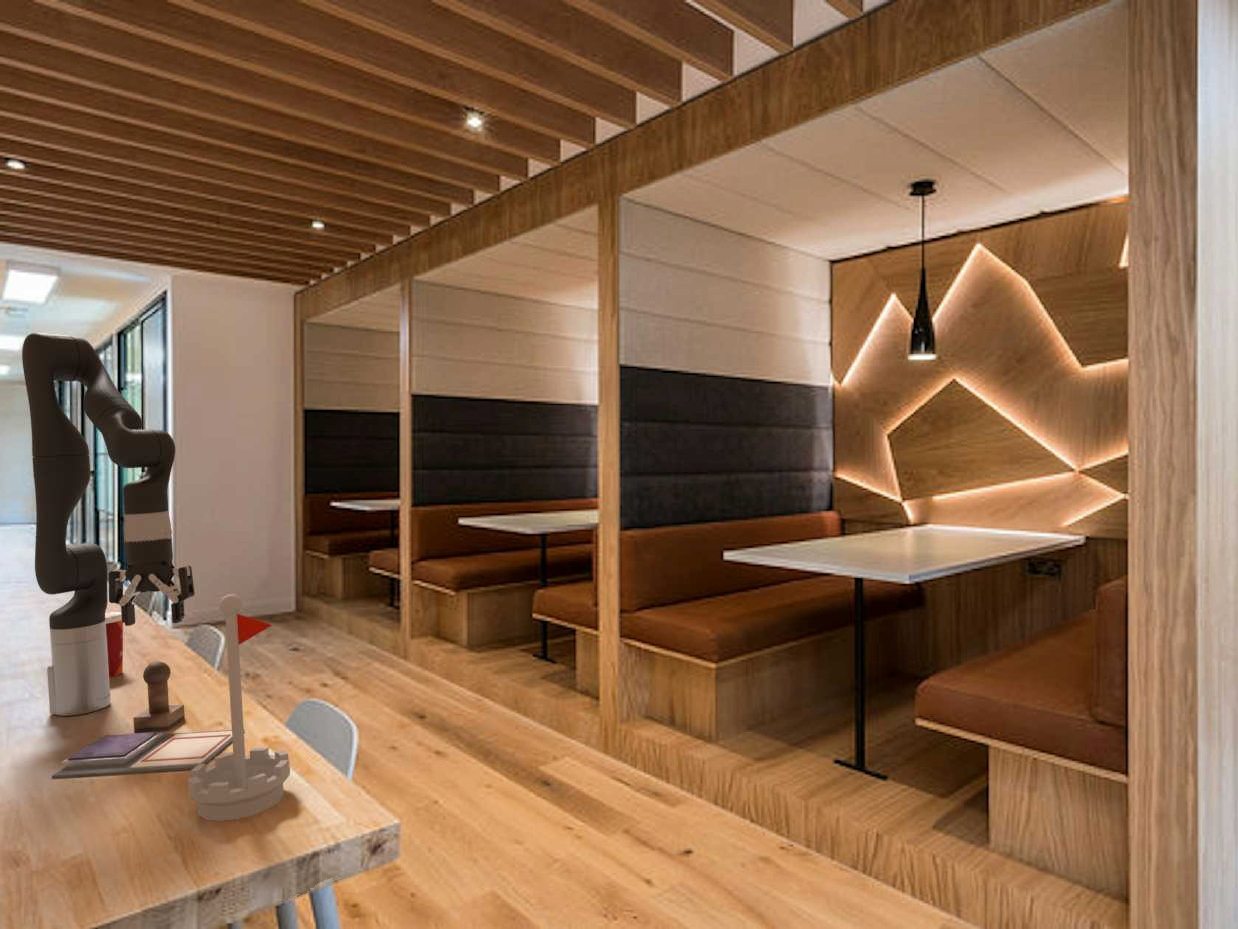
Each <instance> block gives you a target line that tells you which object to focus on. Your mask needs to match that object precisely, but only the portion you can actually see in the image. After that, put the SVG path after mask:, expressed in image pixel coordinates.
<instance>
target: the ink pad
mask: <svg viewBox="0 0 1238 929" xmlns="http://www.w3.org/2000/svg"><path fill="white" fill-rule="evenodd" d="M162 734H163V731H160V732H158V731H156V732H139V733H123V734H119V733H118V734H107V735H103V736H101V737H100V738H98V739H96V740H95V741H93V742H92V743H90V744H88V745H86V746H85V747H84V748H82V749H80V750H79V751H76V752H75V753H74V754H72V755H70V756H69V757H68V758H67V757H66V758H65V759H64V760H62V761H61V770H62V769H73V768H89V767H105V766H121V765H127V764H128V763H130V762H131V761H133V760H134V759H135V758H137V757H138V756H140V755H141V754H143V753H144V752H145V751H147V750H148V749H150V748H151V747H152V746H154V745H155V744H157V743H158V742H159V741H161V740H162V739H163V735H162Z"/></svg>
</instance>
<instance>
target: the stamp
mask: <svg viewBox="0 0 1238 929" xmlns="http://www.w3.org/2000/svg"><path fill="white" fill-rule="evenodd" d="M171 674H172V672H171V667H170V666H169V665H168V664H167V663H166V662H163V661H154V662H151V663H150V664H148V665H147V666H146V667H145V668H144V670H143V673H142V677H143V680H144V682H145V683H146V684H147V699H148V701H147V702H148V708H147V709H145V710H144V711H142V712H140V713H139V714H137V715H135V716H134V717H133V718H132V719H133V729H134V730H133V734H136V733H152V732H167V731H168V732H169V731H170V730H171V729H174V727H175V726H177V725H179V724H180V723H181V722H183V721H184V720H185V719H186V718H185V717H186V716H185V705H184V704H171V705H170V701H169V686H168V685H169V683H168V681H169V678H170V677H171Z"/></svg>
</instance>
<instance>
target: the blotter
mask: <svg viewBox="0 0 1238 929" xmlns="http://www.w3.org/2000/svg"><path fill="white" fill-rule="evenodd" d="M162 735H163V739H162V740H161V741H159V742H158V743H157V744H155V745H154V746H152V747H151V748H150V749H148V750H147V751H145V752H144V753H143V754H141V755H140V756H138V757H137V758H135V759H134V760H133V761H131V762H130V763H128V764H127V765H121V766H105V767H89V768H73V769H62V768H61V769H60V770H59V771H57V772H55V773H53V774H52V775H51V779H58V778H59V779H64V778H78V777H79V778H80V777H93V776H94V777H95V776H96V777H98V776H110V775H124V774H125V775H126V774H142V773H159V772H175V771H191V770H192V769H193V768H195V767H196V766H198V765H199V764H206V765H207V764H209V763H210V762H211V761H212V760H213V759H215V758H214V757H217V756H219V754H221V752H222V751H224V750H225V749H226V748H227V747H228V746H230V745H231V744H233V742H232V729H230V730H229V729H228V730H227V729H226V730H212V731H210V730H209V731H196V732H179V733H178V732H177V733H165V734H164V733H162Z"/></svg>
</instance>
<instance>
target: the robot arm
mask: <svg viewBox="0 0 1238 929" xmlns="http://www.w3.org/2000/svg"><path fill="white" fill-rule="evenodd" d="M21 362H22V368H23V370H22V371H23V376H24V381H25V387H26V393H27V395H26V396H27V399H28V400H27V401H28V407H29V415H30V425H31V426H30V428H31V457H32V473H33V474H32V475H33V481H34V482H33V483H34V492H35V494H34V495H35V510H36V511H35V512H36V516H35V517H36V520H35V521H36V525H35V526H36V528H35V547H34V550H35V551H34V572H35V578H36V582H37V584H38V587H39V589H40V590H41V591H42V592H43V593H45V594H47V595H59V594H64V593H70V592H74V593H73V596H72V598H70V600H69V601H68V602H66V603H65V604H63V605H62V606H60V607H59V608H56V610H54V611H53V612H51V613H50V614H49V619H48V620H49V621H48V622H49V636H50V637H49V638H50V649H51V651H50V652H51V665H48V666H47V668H46V673H47V674H46V675H47V687H48V704H49V715H57V716H61V717H66V716H79V715H83V714H88V713H89V714H90V713H91V712H92V713H93V712H96V711H99V710H102V709H105V708H106V707H108V706H109V705H110V704H111V689H110V688H111V687H110V677H109V668H108V652H107V636H106V621H105V613H107V612H106V611H107V609H108V608H107V607H108V602H109V603H110V604H116V605H118V606H120V611H121V615H122V622H123V624H124V626H125V627H130V626H133V625H134V624H136V610H135V603H133V602H135V600H136V598H137V597H138V596H139V594H141V593H147V592H152V593H157V592H161V593H162V594H163V595H165V596H167V597H168V599H169V600H170V601H171V602H172V603H171V604H170V608H171V623H172V624H179V623H181V622H182V621H183V619H185V618H184V617H185V601H186V600H187V599H189V598H193V597H194V596H195V593H196V592H195V585H194V579H193V578H194V577H193V569H192V566H191V565H184V566H180V567H179V566H178V567H175V565H174V564H173V560H174V552H173V536H172V534H173V530H172V523H171V522H172V521H171V519H170V514H169V500H168V489H169V482H170V478H171V473H172V469H173V465H174V463H175V462H174V461H175V456H176V444H175V442H174V439H173V437H172V436H171V435H170V433H168V432H167V431H166V430H163V429H142V428H143V419H142V417H141V415H140V414H139V413H138V412H137V410H135V408H134V407H133V406H132V405H131V404H130V402H129V401H127V400H126V398H125V397H124V396H123V395H122V394H121V392H120V391H119V390H118V389H117V386H115V384H114V382H113V380H112V378H111V375H110V374H109V372H108V371H107V369H106V367H105V365H104V363H103V362H102V360H101V359H100V356H99V354H98V353H97V351H96V350H95V348H94V347H93V345H91V343H90V342H89V341H88V340H86V339H85V338H83V337H80V336H76V335H75V336H74V335H69V334H68V335H67V334H56V333H47V332H46V333H45V332H31V333H30V334H28V335H26V337H25V339H24V341H23V344H22V350H21ZM55 381H56V382H59V381H60V382H70V383H71V382H78V383H80V384H82V385H83V386H85V387H86V391H85V393H84V397H83V402H82V403H83V410H84V413H85V415H86V416H87V418H88V420H90V422H91V423H92V424H93V425H94V427H96V429H97V430H98V431H99V432H100V434H101V435H102V438H103V441H104V444H105V447H106V450H107V454H108V457H109V459H110V461H111V462H112V463H113V464H115V465H116V466H118V467H121V468H124V469H139V468H146V471H145V473H144V476H143V477H142V478H141V479H137V480H134V481H130V482H127V483H126V484H125V485H124V486H123V489H122V499H123V514H124V515H123V516H124V519H123V539H124V553H125V556H124V557H125V563H126V567H127V568H126V569H125V570H123V569H121V568H118V569H113V570H111V571H109V572H108V563H107V561H108V560H107V557H106V555H105V552H104V550H103V549H102V547H101V546H100V545H98V544H97V543H93V542H91V543H90V542H85V543H76V544H70V545H69V544H68V545H67V543H66V542H67V541H66V540H67V529H68V524H69V520H70V518H71V516H72V514H73V512H74V510H75V509H76V506H77V505H78V504H79V502H80V500H81V498H82V497H83V495H84V494H85V492H86V490H87V487H88V486H89V484H90V481H91V463H90V462H91V461H90V459H91V458H90V448H89V446H88V443H87V441H86V438H84V436H83V434H82V433H81V432H80V430H78V428H77V426H75V424H74V423H73V422H72V420H71V419H70V418H69V417H68V415H67V414H66V413H65V411H64V410H63V408H62V407H61V404H60V402H59V400H58V396H57V392H56V388H55V387H56V386H55ZM175 575H176V578H177V579H179V586H180V588H179V586H178V584H177V583H176V582H175V581H174V580H173V579H174V576H175ZM126 579H127V580H128V582H129V583H130V584H128V587H127V588H126V590H125V591H124V581H125V580H126Z"/></svg>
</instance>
